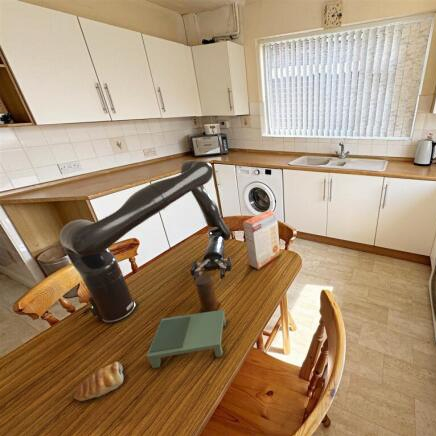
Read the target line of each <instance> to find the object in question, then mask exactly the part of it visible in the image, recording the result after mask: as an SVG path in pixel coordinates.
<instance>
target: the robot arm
mask: <svg viewBox="0 0 436 436" xmlns="http://www.w3.org/2000/svg"><path fill="white" fill-rule="evenodd" d="M213 175H214V169H213V166H212V165H211V164H210V163H209V162H207V161H204V160H199V159H198V160H195V159H188V160H185V161H184V162H183V163H181V166H180V174H178V175H176V176H171V177H168V178H165V179H162V180H161V179H160V180H158V181H155V182H153V183H150V184H148V185H146V186H144V187H142V188H140V189H138V190H137V191H135V192H134V193H132V194H131V195H130V196H129V197H128V198H127V199H126V201H125V202H124V203H123V204H122V205H121V206H120V207H119V208H118V209H117V210H115V211H114V212H113V213H111V214H109V215H107V216H105V217H103V218H102V219H99V220H97V221H95V222H94V221H91V220H88V219H75V220H72V221H69V222H68V223H66V224H65V225H64V226H63V227H62V229H61V230H60V233H59V240H60V244H61V245H62V248H63V249H64V252H65V253H66V255H67V257H68V259H69V260H70V262H71V264H72V266H73V267H74V269H75V270H76V271H77V272H78V274H79V275H80V277H81V279H82V281H83V283H84V285H85V287H86V289H87V291H88V293H89V296H88V302H89V303H90V305H91V306H90V307H88V308H86V309H85V310H84V311H83V312H82V314H83V315H86V314H87V313H88V312H89V311H90V312H91V315H92V316H93V317H97V318H98V320H99V321H103V322H104V323H108V324H112V323H116V322H117V323H118V322H119V321H122V320H124V319H126V318H127V317H129V316H130V315H131V314H132V313H133V312H134V311H135V310H136V302H135V301H134V298H133V296H132V294H131V291H130V288H129V286H128V284H127V282H126V281H127V280H126V279H125V277H124V274H123V272H122V269H121V267H120V264H119V262H118V260H117V259H118V258H117V257H116V256H115V255H114V253H112V251H111V250H110V249H109V248H111V246H113V245H114V244H116V243H117V242H118V241H119V240H121V238H123V237H124V236H125V235H126V234H128V233H129V232H131V231H132V230H133V229H135V228H136V227H138V226H140V225H141V224H143V223H144V222H145V221H147V220H149V219H150V218H152V217H154V216H155V215H157V214H159V213H160V212H162V211H163V210H165V209H166V208H168V207H169V206H170V205H173V204H174V203H175V202H177V201H178V200H180V199H181V198H183V197H185V195H187V194H189V193H190V192H191V194H192V196H193V197H194V199H195V202H196V203H197V205H198V206H199V208H200V209H199V210H200V211H201V213H202V216H203V219H204V221H205V223H206V225H207V227H209V228H210V229H209V230H207V233H206V236H207V240H208V244H207V246H206V248H205V252H204V255H203V259H202V260H201V262H198V261H197V260H194V261H193V263H192V265H191V267H190V269H189V272H190V276H191V277H193V281H194V282H195V280H196V278H197V277H199V276H200V275H204V274H207V272H211V271H218V272H220V273H219V277H220V280H224V278H225V277H226V273H227V272H228V273H229V272H231V271H232V260H231V257H230V256H229V257H227V258H226V259H225V255H226V250H225V249H226V242H227V241H229V240H230V239H231V237H232V232H231V229H230V228H229V226H228V225H227V224H226V223H225V221H224V220H223V218H222V215H221V212H220V209H219V207H218V205H217V203H216V202H215V201H214V199H213V198H212V197H211V196H210V194H209V192H208V191H207V190H206V188H205V186H204V185H206V184H208V183H209V182H210V181H211V179H212V178H213ZM224 264H225V265H224Z"/></svg>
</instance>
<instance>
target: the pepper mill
mask: <svg viewBox="0 0 436 436" xmlns="http://www.w3.org/2000/svg"><path fill="white" fill-rule="evenodd" d="M194 283H195V286H196V292H197V294H198V299H199V303H200V307H201V311H202V313H205V312H211V311H217V309H218V306H219V305H218V300H217V295H216V291H215V286H214V282H213V277H212V275H210V274H208V273H204V274H201V275H200V276H199V277H197V278H196V280H195V281H194Z"/></svg>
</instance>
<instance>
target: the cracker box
mask: <svg viewBox="0 0 436 436" xmlns="http://www.w3.org/2000/svg"><path fill="white" fill-rule="evenodd" d="M242 225H243V231H244V237H245V244H246V252H247V258H248V265H249V266H251V267H252V268H254V269H256V270H261V268H263V267H264V266H266V265H268V264H269V263H270V262H271V261H273V260H274V259H276V258H277V257H278V256H280V255H281V249H280V248H281V247H280V236H279V222H278V213H277V212H274V211H271V210H268V209H267V210H265V211H263V212H261V213H259V214H257V215H255V216H253V217H249V218H248V219H246V220H244V221H242Z"/></svg>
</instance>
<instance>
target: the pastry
mask: <svg viewBox="0 0 436 436" xmlns="http://www.w3.org/2000/svg"><path fill="white" fill-rule="evenodd" d="M123 370H124V367H123V365H122V364H121V363H120V362H119V361H114V362H113V363H110V364H108V365H105V366H104V367H101V368H99V369H98V370H97V371H96V372H94V373H93V374H92V375H91V376H90V377H88V378H86V379H85V380H84V381H82V383H80V385H78V386H77V388H76V390H75V394H74V397H73V398H74V399H75V400H77V401H79V402H83V401H87V400H91V399H94V398H100V397H101V396H104V395H107V394H108V393H110V392H111V391H113V390H116V389H118V388H119V387H120V386H121V385H122V384H123V383H124V377H125V376H124V374H123Z"/></svg>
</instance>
